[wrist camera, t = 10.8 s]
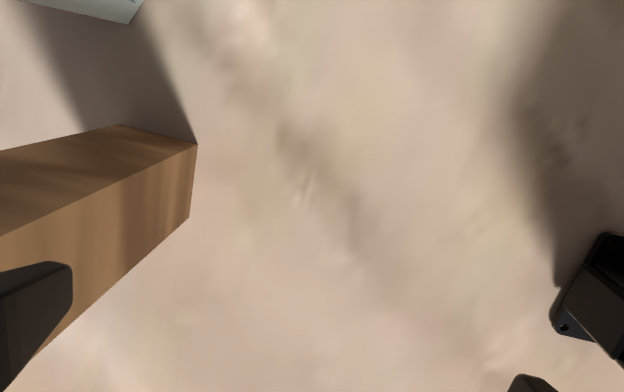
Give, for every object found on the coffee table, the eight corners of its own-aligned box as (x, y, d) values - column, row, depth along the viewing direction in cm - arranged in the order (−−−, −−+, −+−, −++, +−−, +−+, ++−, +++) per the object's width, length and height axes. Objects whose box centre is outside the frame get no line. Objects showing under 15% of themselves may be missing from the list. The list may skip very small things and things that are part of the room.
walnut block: (197, 144, 20) (-113, 290, 6) (188, 217, 21) (-78, 457, 8) (119, 124, 20) (-350, 227, 6) (115, 198, 21) (-270, 405, 8)
